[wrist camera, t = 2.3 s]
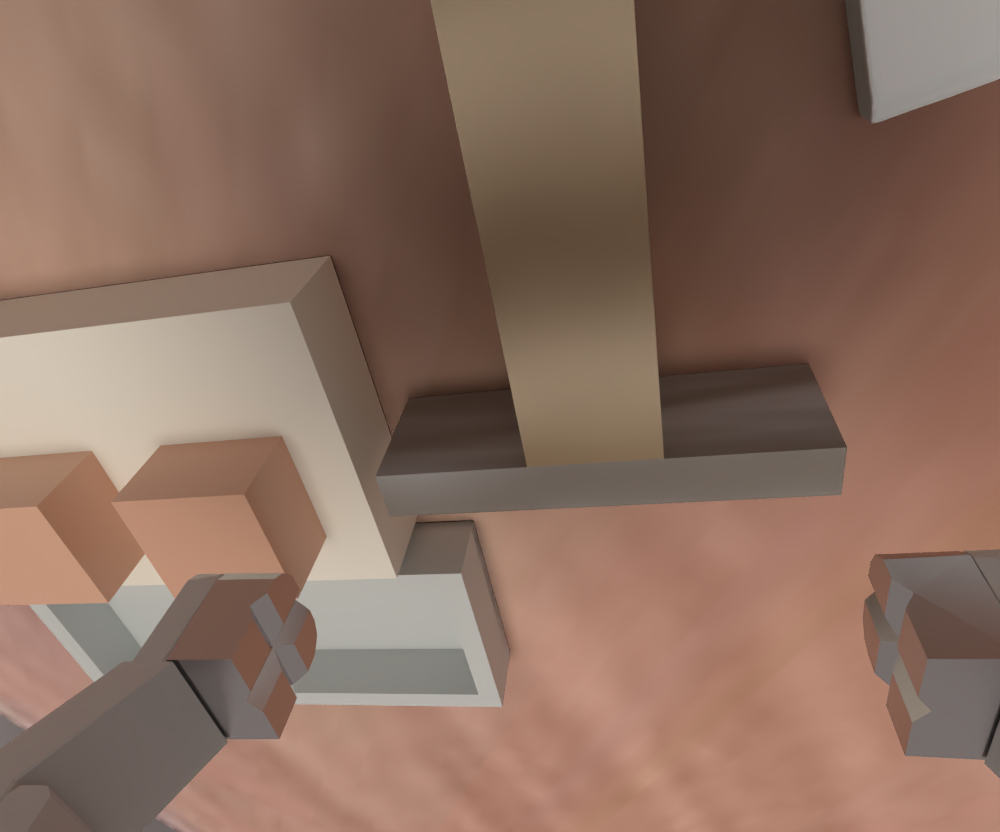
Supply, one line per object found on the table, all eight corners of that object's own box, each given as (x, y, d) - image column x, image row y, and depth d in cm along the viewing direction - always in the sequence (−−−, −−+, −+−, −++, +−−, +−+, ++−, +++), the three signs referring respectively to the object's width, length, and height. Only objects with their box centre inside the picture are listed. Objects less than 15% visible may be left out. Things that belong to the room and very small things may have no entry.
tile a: (-15, 459, 22) (-79, 513, 20) (92, 450, 21) (36, 506, 19) (53, 548, 24) (2, 605, 22) (152, 544, 23) (108, 602, 21)
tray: (55, 539, 29) (12, 586, 26) (473, 520, 25) (461, 573, 23) (141, 653, 33) (110, 701, 31) (509, 652, 29) (502, 706, 27)
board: (-66, 309, 22) (-147, 355, 20) (330, 255, 19) (290, 302, 17) (91, 531, 28) (41, 588, 25) (417, 515, 25) (397, 578, 22)
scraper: (274, -45, 16) (185, -38, 12) (848, -183, 13) (927, -222, 10) (421, 433, 23) (390, 516, 20) (804, 405, 20) (841, 494, 17)
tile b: (160, 445, 20) (110, 502, 18) (281, 435, 20) (244, 494, 18) (215, 541, 23) (176, 601, 21) (327, 536, 22) (297, 598, 20)
